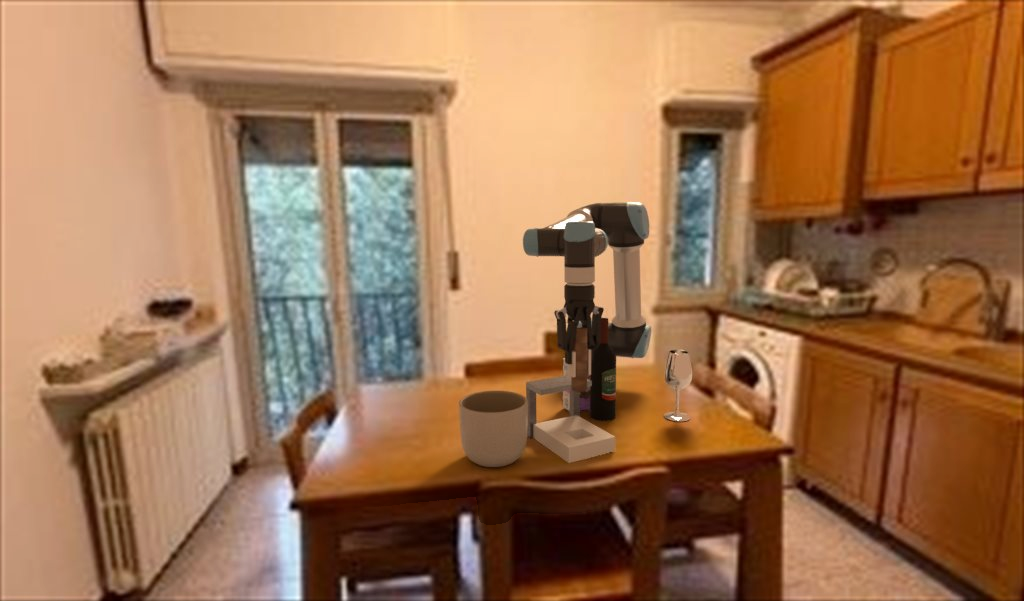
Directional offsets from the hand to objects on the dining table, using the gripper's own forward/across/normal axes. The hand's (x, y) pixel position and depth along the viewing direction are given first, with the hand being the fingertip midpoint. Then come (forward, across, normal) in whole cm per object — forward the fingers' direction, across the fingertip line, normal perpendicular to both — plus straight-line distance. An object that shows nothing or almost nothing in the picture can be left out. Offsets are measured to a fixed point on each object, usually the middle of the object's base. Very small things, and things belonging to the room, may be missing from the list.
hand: (579, 374), depth 144 cm
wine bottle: (+20, -19, -16) cm, 32 cm away
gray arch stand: (+20, 0, -10) cm, 22 cm away
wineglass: (+20, -38, -5) cm, 43 cm away
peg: (+4, 0, 0) cm, 4 cm away
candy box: (+20, -19, -25) cm, 37 cm away
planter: (+20, +22, -5) cm, 30 cm away
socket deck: (+20, 0, -3) cm, 20 cm away
